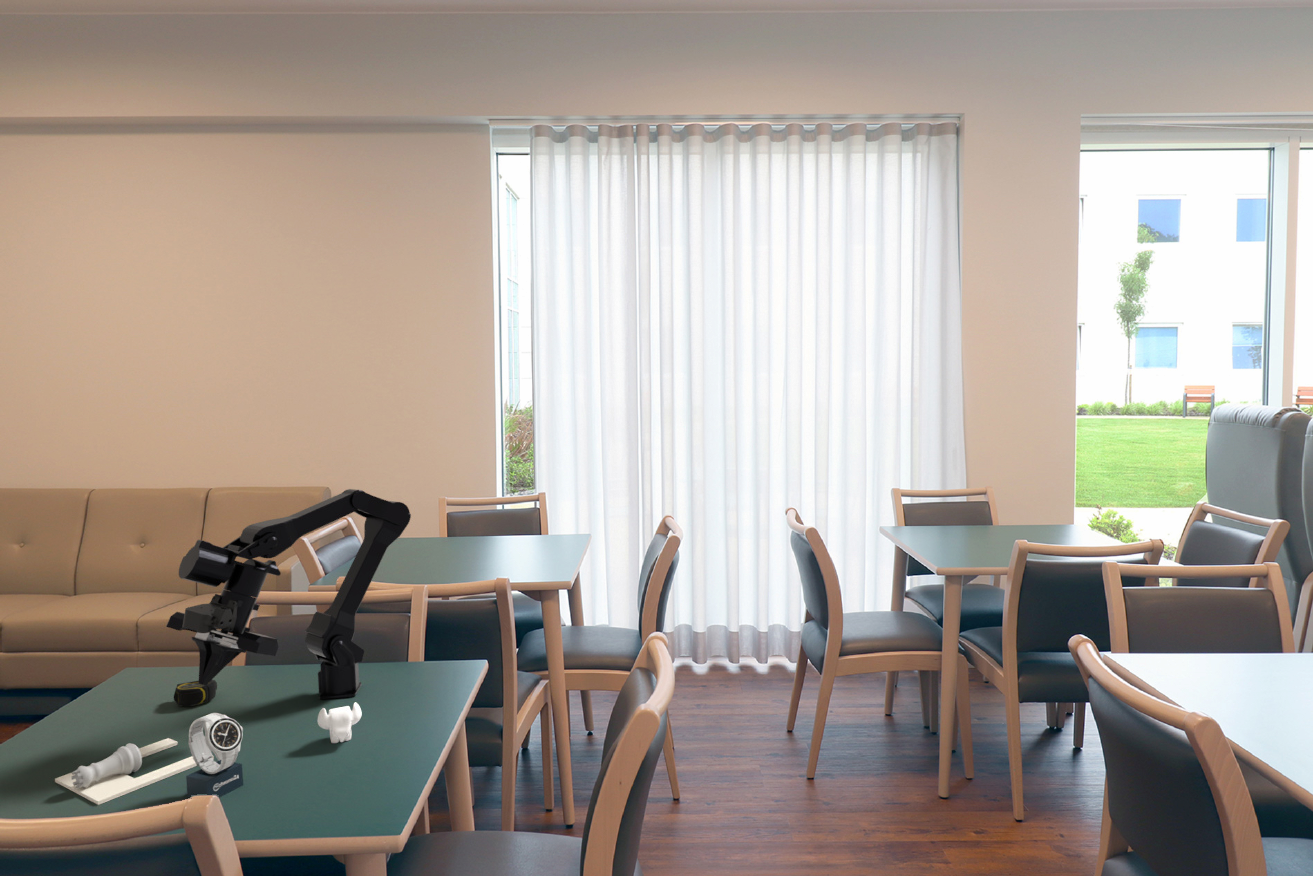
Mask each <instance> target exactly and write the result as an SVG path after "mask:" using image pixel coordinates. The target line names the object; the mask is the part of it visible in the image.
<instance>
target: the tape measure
mask: <svg viewBox="0 0 1313 876" xmlns="http://www.w3.org/2000/svg"><path fill="white" fill-rule="evenodd" d="M217 690H218V683H217V681H216V680H215V679H212V680H211V681H210V682H209V683H208V684H207V685H201V684H199V680H192V681H187V682H181V683H178V684H176V687H175V691H174V694H173V701H174V702H175V703H176V705H178V706H180V707H181V706H183V707H187V706H191V707H193V706H200V705H203V704H204V703H208V702H209V701H212V700H213V699H214V698H215V697H216V694H217Z"/></svg>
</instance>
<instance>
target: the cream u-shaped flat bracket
mask: <svg viewBox="0 0 1313 876" xmlns="http://www.w3.org/2000/svg"><path fill="white" fill-rule="evenodd" d="M178 743H179V742H178V741H176V740H174V739H171V738H169V737H167V738H164V739H161V740H159V741H155V742H154V743H150V744H148V745H144V746H142V747H138V748H139V750H140V753H141V756H142V759H143V758H146V757H148V756H151V755H153V754H156V753H159V752H161V751H164V750H167V749H169V748H172V747H175V746H178ZM214 757H215V755H213V757H212V759H213V760H214V759H215V758H214ZM195 767H198V766H197V765H196V763H195V761H194V760H193V756H192V755H191V756H189V757H186V758H184V759H181V760H179V761H176V762H173V763H171V764H169V765H166V766H163V767H161V768H159V769H158V768H157V769H156V770H155V769H154V770H153V771H150V772H148V773H145V774H142V775H139V776H137V777H132V776H130V775H129V774H127V775H126V774H120V775H119V774H115V775H111V776H107V777H104V778H101V779H100V780H99V781H97V782H95V781H93V782H91V783H90V785H89V786H88V787H87V788H83V787H80V788H76V786H77V785H78V784H77V785H75V786H74V785H73V782H75V781H76V779H73V780H72V777H71V776H74V775H75V774H74V775H72V772H69V773H67V774H65V775H64V774H63V775H62V776H59V777H56V778H54V783H56V784H58V785H59V786H62V787H64V788H66V789H68V790H70V791H71V792H73V793H75V794H77V795H79V796H81V797H83V798H85V799H86V800H88V801H90V802H91V803H94V804H95V805H97V806H100V805H102V804H104V803H106V802H109V801H112V800H114V799H117V798H119V797H121V796H124V795H127V794H130V793H132V792H134V791H136V790H139V789H142V788H144V787H146V786H149V785H153V784H154V783H156V782H160V781H162V780H164V779H166V778H170V777H172V776H174V775H177V774H179V773H182V772H185V771H187V770H189V769H192V768H195Z"/></svg>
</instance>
